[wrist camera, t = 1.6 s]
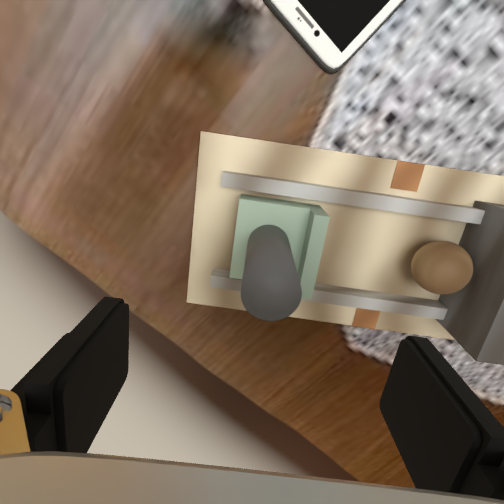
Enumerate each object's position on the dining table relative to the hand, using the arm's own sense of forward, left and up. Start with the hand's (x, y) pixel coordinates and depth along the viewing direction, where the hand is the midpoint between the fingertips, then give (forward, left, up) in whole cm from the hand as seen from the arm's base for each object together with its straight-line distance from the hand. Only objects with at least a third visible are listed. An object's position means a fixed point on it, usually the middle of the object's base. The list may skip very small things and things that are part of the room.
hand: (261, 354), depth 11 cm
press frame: (-7, 0, -17) cm, 18 cm away
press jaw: (-1, 0, -15) cm, 15 cm away
